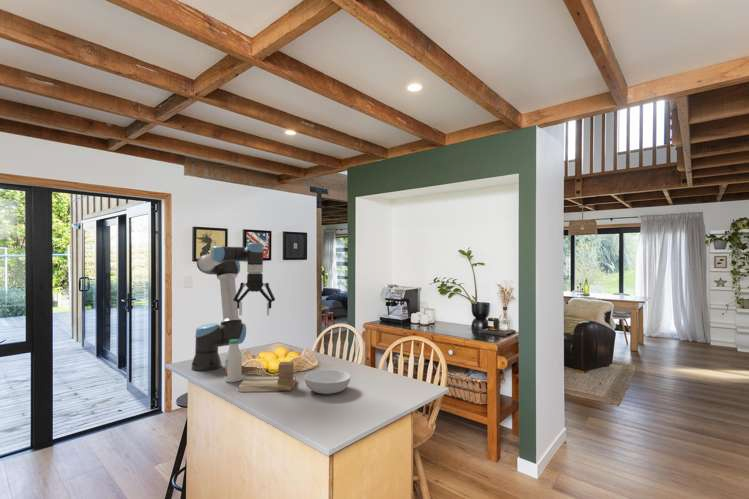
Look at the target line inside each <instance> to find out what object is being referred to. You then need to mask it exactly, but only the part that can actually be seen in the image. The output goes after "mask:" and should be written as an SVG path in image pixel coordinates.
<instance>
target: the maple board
mask: <svg viewBox="0 0 749 499" xmlns="http://www.w3.org/2000/svg"><path fill="white" fill-rule="evenodd" d="M278 378H279V375H278V376H276V375H275V376H270V375H269V376H245V377H244V379H243V380H242V381H241V383H240V384H239V385H238V392H241V393H242V392H243V393H244V392H245V393H246V392H288V391H290V392H291V391H293V390H294V387H295V385H296V382H297V375H293V382H292V384H291V390H278Z"/></svg>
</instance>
